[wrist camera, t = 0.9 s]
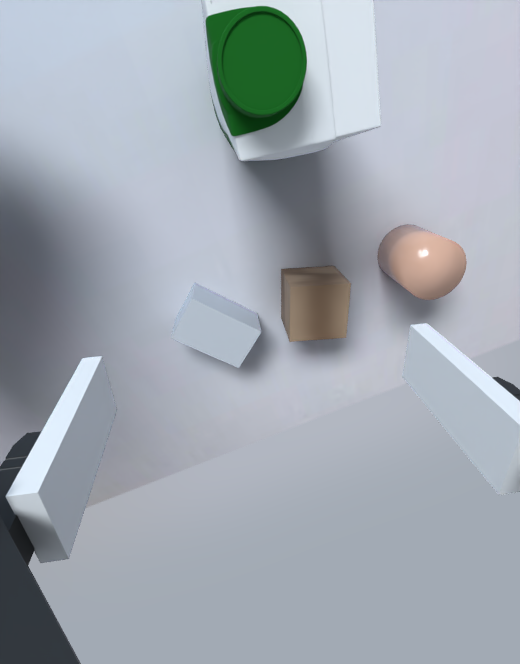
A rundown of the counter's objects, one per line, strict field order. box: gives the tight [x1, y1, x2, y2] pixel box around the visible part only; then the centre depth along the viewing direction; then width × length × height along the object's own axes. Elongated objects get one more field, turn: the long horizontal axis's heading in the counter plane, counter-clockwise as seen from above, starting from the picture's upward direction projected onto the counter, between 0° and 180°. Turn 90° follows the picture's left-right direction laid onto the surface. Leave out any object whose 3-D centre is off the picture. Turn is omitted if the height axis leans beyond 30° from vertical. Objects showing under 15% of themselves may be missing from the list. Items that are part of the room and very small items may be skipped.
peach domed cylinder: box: [378, 225, 466, 300], centre depth 39 cm, size 6×6×7 cm
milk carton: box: [201, 0, 381, 161], centre depth 25 cm, size 9×9×20 cm
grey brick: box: [171, 283, 261, 368], centre depth 41 cm, size 8×5×5 cm, turn 60°
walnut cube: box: [281, 266, 351, 342], centre depth 41 cm, size 6×6×6 cm
